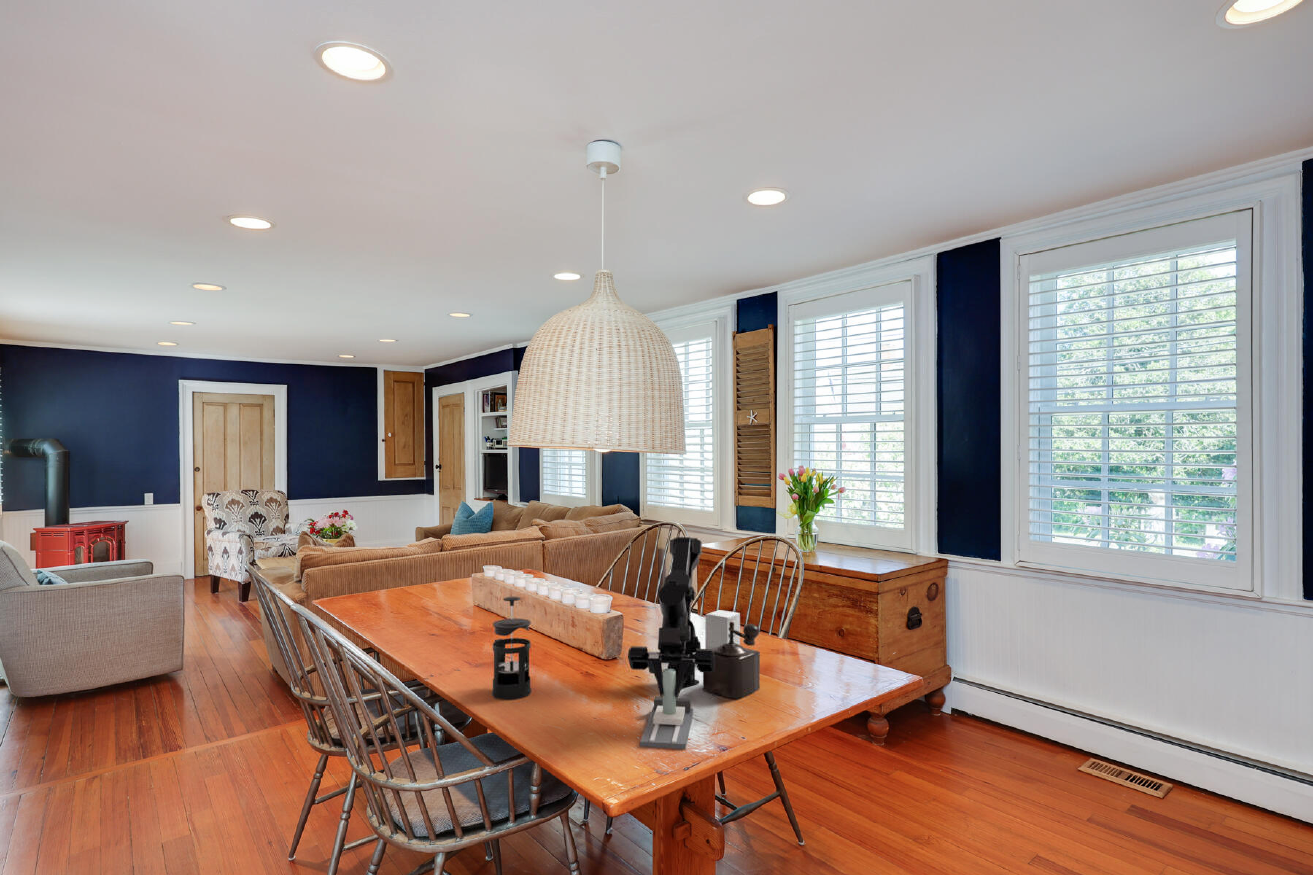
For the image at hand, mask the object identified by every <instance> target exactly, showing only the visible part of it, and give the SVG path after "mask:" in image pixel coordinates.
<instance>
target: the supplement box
mask: <svg viewBox="0 0 1313 875" xmlns="http://www.w3.org/2000/svg"><path fill="white" fill-rule="evenodd" d="M730 622H734V629H735V630H736V631H738V632H740V633H741V613H740V612H736V611H728V610H722V609H718V610H715V611H712V612H709V613H706V614H705V636H704V637H705V639H704V640H705V642H704V643H705V645H704V646H705V648H704V649H713V648H716V647H719V646H721V645H723V644H726V643H729V641H730V631H729V627H730V626H729V623H730ZM740 640H741V637H740V636H738V635H736V634H735V633H734V635H733V641H734V643H736V644H738V645H741V641H740Z"/></svg>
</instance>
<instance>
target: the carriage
mask: <svg viewBox="0 0 1313 875" xmlns="http://www.w3.org/2000/svg"><path fill="white" fill-rule="evenodd" d="M662 671H663V696H662V697H663V706H657V709H656V711H655V714H654V717H653V724H669V725H682V723H683V718H684V714H685V707H676V697H675V688H676V670H674V669H667V668H664V669H662Z"/></svg>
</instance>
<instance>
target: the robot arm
mask: <svg viewBox="0 0 1313 875" xmlns="http://www.w3.org/2000/svg"><path fill="white" fill-rule="evenodd" d="M669 554H670V555H672V562H671V569H670V573H669V574H667V576H665V577H664V582H663V585H662V586H660V589H659V592H658V594H657V595H658V598H657V599H658V602H659V605H660V611H661V614H662V621H661V627H659V628H658V638H657V640H658V641H657V650H658V651H649V650H648V646H639V645H638V646H634V645H632V646H630V648H629V649H628V653H627V659H628V664H629V666H630V669H632V670H641V671H645V670H646V669H648V672H649V674H653V675H654V678H655V680H656V682H657V686H658V691H659V697H663V667H662V664H668V665H667V668H666V669H674V670H676V688H675V697H676V698H677V697H678V698H679V695H680V693H681V692H682V689H684V688H687V687H690V686H694V685H697V684H699V683H700V680H698V679H695V678H696V674H695V673H696V670H698V671H699V672H700V673H703V672H709V673H712V672H714V671H715V658H714V651H713V650H712V649H705V648H701V641H700V640H699V637H698V636H697V635H696V629H695V625H694V623H693V621H691V614H692V613H691V612H692V611H691V610H692V603H694V601H695V600H696V596H697V595H696V594H697V593H696V591H695V588H694V586H693V573H694V570H695V569H696V568H697V566H698V565H699V563H700V556H703V555H702V554H703V543H702V540H699V539H698V538H697V537H690V536H688V537H687V536H676V537H674V538H672V539H669Z"/></svg>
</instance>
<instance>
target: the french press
mask: <svg viewBox="0 0 1313 875" xmlns="http://www.w3.org/2000/svg"><path fill="white" fill-rule="evenodd" d="M502 600H503V601H506V602H509V606H510V618H505V619H504V618H503V619H499V620H497V621H496V620H495V621H494V622H493V623H492V626H493V627H494V634H495V635H497V636H503V637H507V636H510V638H504V639H503V638H497V639H494V641H493V642H492V651H493V679H492V691H491V696H492V697H493V699H494V698H495V699H498V700H506V701H507V700H508V701H510V700H511V701H512V700H519V699H523V698H526V697H527V696H529V695H530V694H531V693H532V687H531V683H532V682H531V680H532V679H531V676H530V649H531V647H532V646H531V644H532V642H531V641H530V640H529V639H527V638H521V637H513V636H514V635H513V634H514V632H515V631H517V630H518V629H525V630H526V631H528V632H529V631H530V628H529V627H530V625H531V620H529V619H526V618H515V617H514V618H513V616H514V614H513V612H514V611H513V606H515V602H516V601H520V600H521V597H519V596H508V597H507V596H506V597H504V598H503V599H502ZM515 644H516V645H517V644H518V645H520V644H521V645H523V646H518V647H513V645H515ZM506 645H510V647H506ZM509 654H510V660H509V661H506V655H509ZM514 654H518V660H514V659H513V658H514V657H513V655H514Z"/></svg>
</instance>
